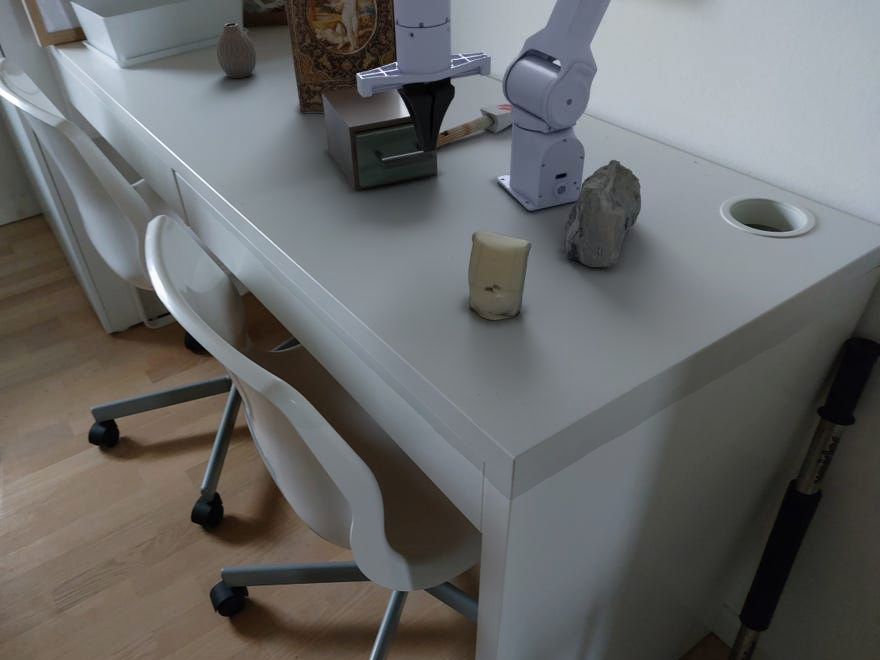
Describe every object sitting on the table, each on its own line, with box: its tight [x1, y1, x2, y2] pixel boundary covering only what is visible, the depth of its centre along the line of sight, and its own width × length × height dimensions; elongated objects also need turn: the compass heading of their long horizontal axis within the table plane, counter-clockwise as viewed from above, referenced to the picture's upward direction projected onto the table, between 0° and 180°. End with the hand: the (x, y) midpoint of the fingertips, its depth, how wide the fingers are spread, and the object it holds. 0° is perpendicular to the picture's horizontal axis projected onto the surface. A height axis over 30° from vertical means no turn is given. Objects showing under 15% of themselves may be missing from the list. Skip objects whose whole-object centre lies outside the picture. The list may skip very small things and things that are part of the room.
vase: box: [216, 22, 257, 79], centre depth 130 cm, size 7×7×9 cm
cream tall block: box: [467, 230, 532, 321], centre depth 69 cm, size 6×5×8 cm
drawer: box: [354, 122, 436, 187], centre depth 94 cm, size 17×10×7 cm, turn 19°
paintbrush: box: [437, 103, 513, 148], centre depth 106 cm, size 4×3×20 cm
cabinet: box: [322, 87, 438, 192], centre depth 97 cm, size 14×12×9 cm
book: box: [284, 0, 397, 114], centre depth 109 cm, size 16×6×25 cm, turn 84°
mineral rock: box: [564, 159, 642, 268], centre depth 78 cm, size 13×11×10 cm
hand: (427, 148), depth 81 cm, fingers closed
